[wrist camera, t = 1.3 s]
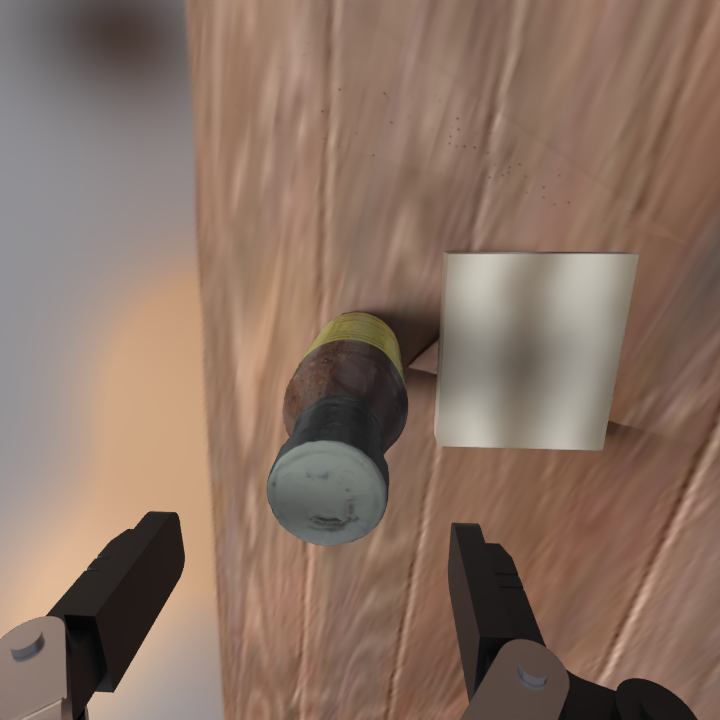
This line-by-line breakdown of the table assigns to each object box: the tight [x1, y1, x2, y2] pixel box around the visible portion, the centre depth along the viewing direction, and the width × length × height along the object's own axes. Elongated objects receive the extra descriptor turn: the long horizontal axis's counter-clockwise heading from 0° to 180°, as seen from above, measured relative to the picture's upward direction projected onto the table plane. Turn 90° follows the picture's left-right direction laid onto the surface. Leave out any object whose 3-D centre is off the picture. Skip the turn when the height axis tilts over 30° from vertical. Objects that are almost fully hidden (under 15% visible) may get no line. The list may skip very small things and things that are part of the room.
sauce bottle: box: [267, 312, 408, 546], centre depth 23 cm, size 7×6×20 cm
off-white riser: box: [434, 252, 639, 450], centre depth 31 cm, size 12×14×3 cm
